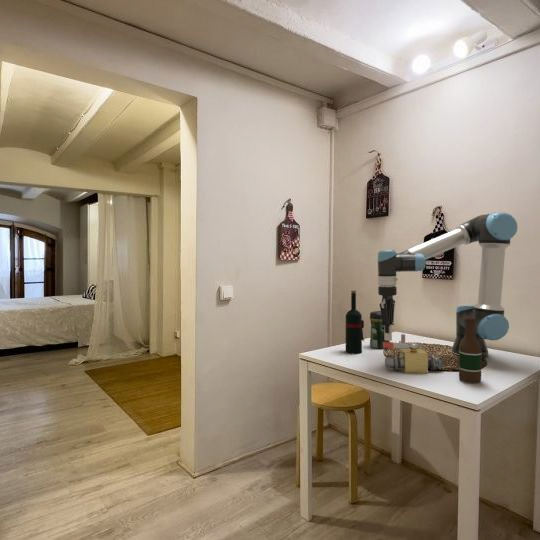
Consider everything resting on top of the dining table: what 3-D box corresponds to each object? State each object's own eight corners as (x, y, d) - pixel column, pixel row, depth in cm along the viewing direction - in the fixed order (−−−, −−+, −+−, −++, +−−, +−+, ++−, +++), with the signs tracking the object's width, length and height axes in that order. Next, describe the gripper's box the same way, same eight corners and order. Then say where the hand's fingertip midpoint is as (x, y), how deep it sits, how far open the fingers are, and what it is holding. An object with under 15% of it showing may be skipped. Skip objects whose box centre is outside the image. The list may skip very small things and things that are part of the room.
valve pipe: (437, 367, 159) (437, 346, 158) (444, 373, 152) (444, 350, 151) (384, 367, 160) (384, 346, 159) (388, 373, 153) (388, 350, 152)
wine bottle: (369, 352, 185) (369, 290, 183) (352, 354, 180) (352, 291, 179) (358, 348, 192) (358, 289, 190) (342, 351, 187) (341, 290, 186)
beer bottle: (462, 375, 149) (462, 314, 148) (484, 380, 143) (485, 316, 142) (455, 380, 143) (455, 317, 142) (478, 385, 138) (478, 319, 137)
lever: (418, 347, 157) (418, 342, 157) (420, 349, 153) (420, 345, 153) (382, 345, 160) (382, 341, 160) (383, 348, 156) (383, 343, 156)
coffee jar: (381, 344, 200) (381, 309, 199) (392, 347, 193) (392, 311, 192) (366, 346, 196) (366, 310, 195) (377, 349, 188) (377, 312, 188)
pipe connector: (411, 352, 182) (411, 332, 182) (417, 358, 172) (417, 336, 172) (389, 352, 183) (389, 332, 183) (394, 358, 173) (394, 336, 173)
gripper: (390, 287, 156) (391, 344, 157) (401, 284, 166) (401, 338, 168) (373, 287, 160) (374, 342, 162) (384, 284, 171) (384, 336, 172)
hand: (388, 340), depth 165 cm, fingers closed
